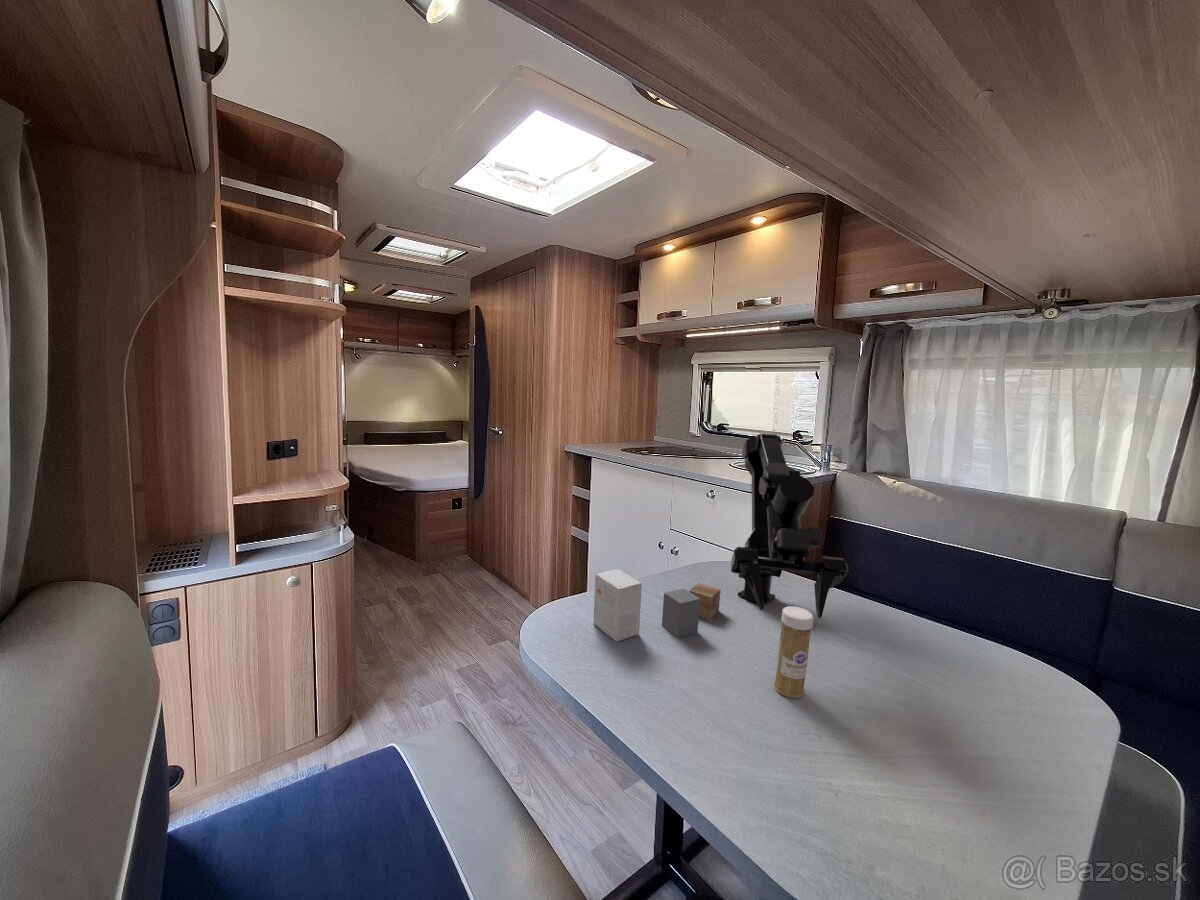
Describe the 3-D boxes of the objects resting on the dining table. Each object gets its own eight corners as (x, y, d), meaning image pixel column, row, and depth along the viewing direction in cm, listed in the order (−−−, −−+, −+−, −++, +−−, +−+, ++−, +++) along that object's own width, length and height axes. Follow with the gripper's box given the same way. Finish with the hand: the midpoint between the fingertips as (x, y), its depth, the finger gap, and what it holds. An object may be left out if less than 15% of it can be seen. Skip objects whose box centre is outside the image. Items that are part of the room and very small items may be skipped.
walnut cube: (697, 604, 104) (698, 582, 104) (718, 611, 102) (720, 589, 101) (687, 612, 100) (689, 590, 100) (709, 620, 97) (711, 597, 97)
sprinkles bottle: (788, 702, 73) (798, 621, 71) (767, 684, 77) (776, 607, 75) (810, 696, 75) (820, 616, 73) (788, 679, 79) (797, 603, 77)
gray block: (681, 620, 97) (683, 588, 96) (697, 632, 92) (700, 598, 91) (661, 625, 94) (664, 592, 93) (677, 637, 90) (680, 603, 89)
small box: (639, 635, 90) (643, 583, 89) (616, 642, 87) (619, 589, 86) (615, 616, 97) (617, 568, 95) (592, 623, 94) (595, 573, 92)
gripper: (738, 502, 83) (739, 587, 74) (852, 513, 80) (868, 603, 70) (730, 532, 92) (730, 612, 82) (832, 543, 88) (844, 627, 79)
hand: (790, 613), depth 78 cm, fingers open, 9 cm apart
